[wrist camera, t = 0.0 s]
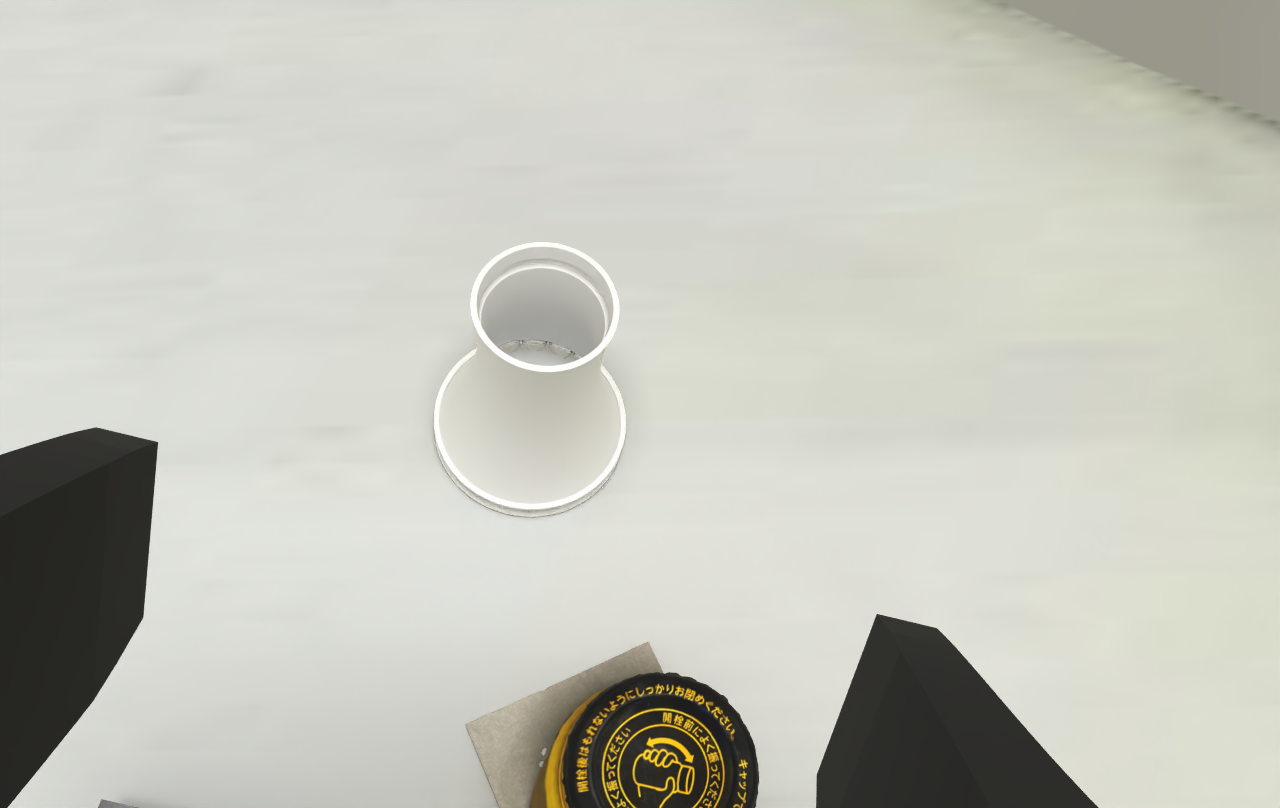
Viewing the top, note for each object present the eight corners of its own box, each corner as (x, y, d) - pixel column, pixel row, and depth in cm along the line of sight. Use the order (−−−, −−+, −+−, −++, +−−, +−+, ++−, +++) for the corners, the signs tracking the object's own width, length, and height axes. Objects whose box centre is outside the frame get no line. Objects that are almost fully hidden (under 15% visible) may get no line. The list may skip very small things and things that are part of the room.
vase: (535, 556, 46) (554, 456, 37) (394, 431, 47) (378, 305, 38) (660, 425, 49) (705, 303, 40) (523, 312, 50) (537, 170, 41)
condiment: (562, 961, 40) (600, 958, 29) (465, 725, 43) (467, 643, 32) (751, 861, 42) (851, 825, 31) (647, 643, 45) (706, 541, 34)
